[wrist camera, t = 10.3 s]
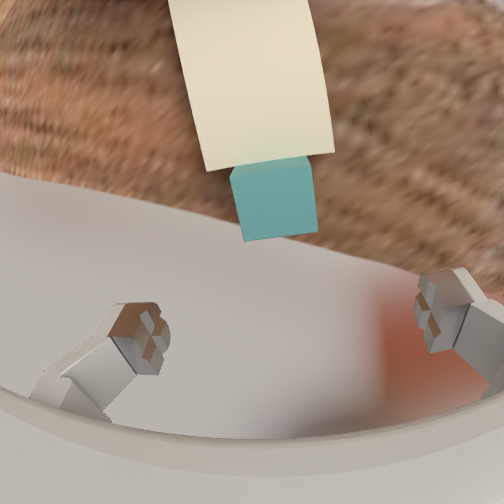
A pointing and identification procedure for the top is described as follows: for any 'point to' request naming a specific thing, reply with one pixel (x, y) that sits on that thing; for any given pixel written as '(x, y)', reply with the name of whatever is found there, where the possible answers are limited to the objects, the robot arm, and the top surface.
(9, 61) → the top surface
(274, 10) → the cream and teal block
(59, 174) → the top surface
